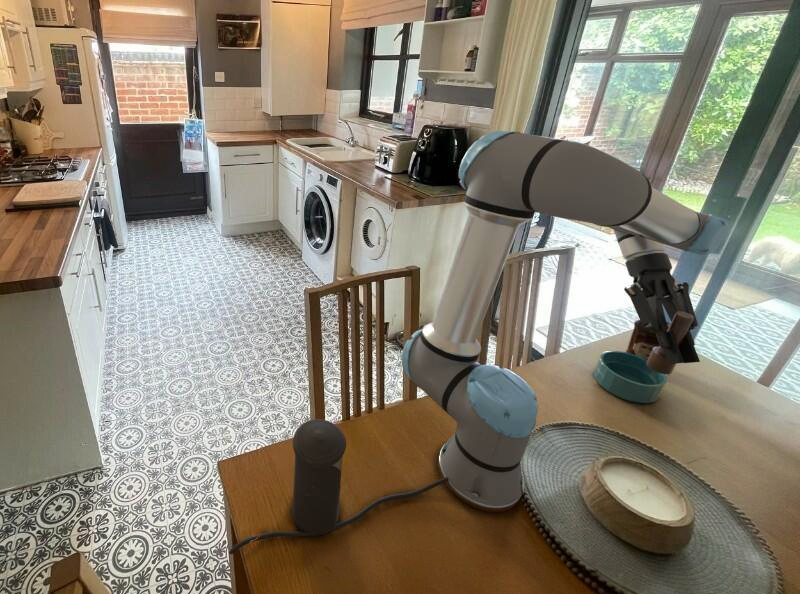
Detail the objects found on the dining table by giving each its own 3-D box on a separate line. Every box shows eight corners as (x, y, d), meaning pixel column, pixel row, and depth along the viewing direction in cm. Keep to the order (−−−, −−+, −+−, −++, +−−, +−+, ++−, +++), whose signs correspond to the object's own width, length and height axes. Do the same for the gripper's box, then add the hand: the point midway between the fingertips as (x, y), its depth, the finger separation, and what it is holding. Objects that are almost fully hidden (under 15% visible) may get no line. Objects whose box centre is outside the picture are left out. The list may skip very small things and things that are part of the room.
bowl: (629, 410, 97) (638, 391, 95) (580, 373, 109) (587, 355, 106) (670, 399, 100) (680, 380, 98) (618, 364, 112) (626, 347, 109)
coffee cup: (665, 375, 108) (686, 335, 103) (630, 370, 110) (648, 330, 104) (646, 354, 116) (665, 316, 110) (614, 350, 117) (630, 312, 112)
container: (349, 521, 73) (358, 442, 65) (308, 549, 69) (311, 469, 61) (321, 483, 80) (325, 407, 72) (281, 506, 76) (281, 429, 67)
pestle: (661, 376, 88) (689, 322, 82) (641, 363, 92) (665, 310, 86) (676, 372, 89) (705, 319, 83) (655, 359, 93) (681, 307, 87)
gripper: (662, 260, 97) (701, 362, 89) (599, 263, 96) (633, 366, 88) (693, 249, 90) (738, 359, 82) (626, 252, 89) (665, 363, 81)
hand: (684, 362), depth 85 cm, fingers closed on pestle, 3 cm apart
